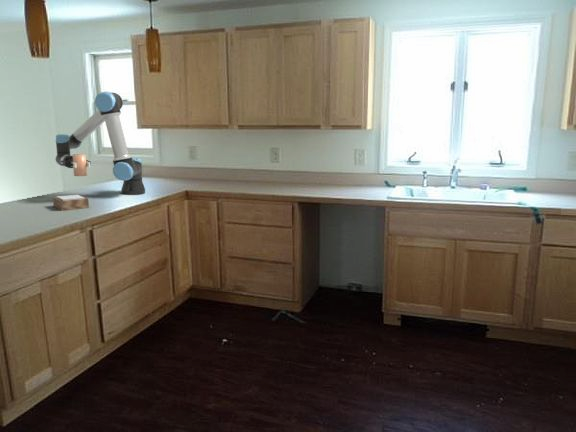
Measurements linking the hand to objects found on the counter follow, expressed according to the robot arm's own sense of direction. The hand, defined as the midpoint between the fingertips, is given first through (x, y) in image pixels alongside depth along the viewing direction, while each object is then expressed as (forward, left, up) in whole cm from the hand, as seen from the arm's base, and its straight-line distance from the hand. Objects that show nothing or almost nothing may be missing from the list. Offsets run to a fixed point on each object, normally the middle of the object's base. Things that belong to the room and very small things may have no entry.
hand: (82, 165), depth 263 cm
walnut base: (+11, +10, -22) cm, 26 cm away
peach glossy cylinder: (0, -5, -7) cm, 8 cm away
